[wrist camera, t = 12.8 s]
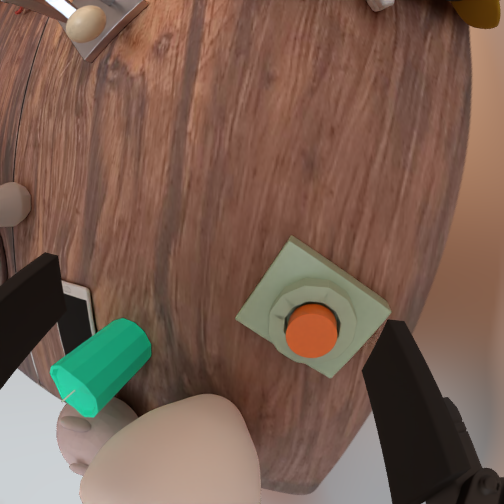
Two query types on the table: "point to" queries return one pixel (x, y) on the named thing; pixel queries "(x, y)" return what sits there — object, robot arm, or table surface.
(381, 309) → the button block
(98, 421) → the toy
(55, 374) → the candle
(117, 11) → the bracket
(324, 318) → the button
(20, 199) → the salt shaker
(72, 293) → the smartphone
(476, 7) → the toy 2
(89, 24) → the lever
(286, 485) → the table surface
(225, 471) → the vase
